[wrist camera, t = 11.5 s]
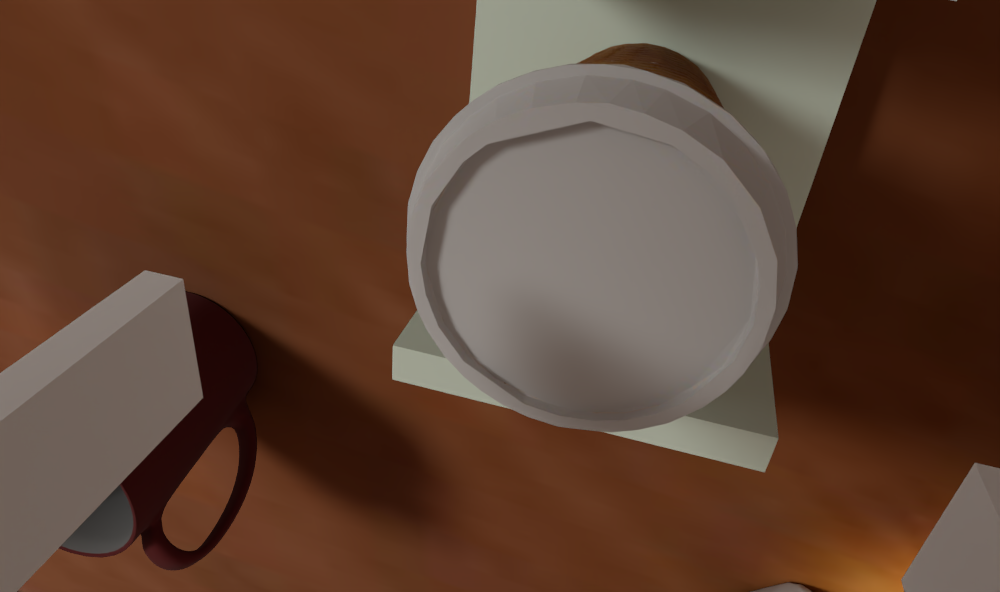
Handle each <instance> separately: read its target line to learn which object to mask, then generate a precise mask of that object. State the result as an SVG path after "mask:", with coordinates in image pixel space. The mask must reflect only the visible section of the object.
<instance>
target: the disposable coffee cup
mask: <svg viewBox="0 0 1000 592" xmlns="http://www.w3.org/2000/svg"><path fill="white" fill-rule="evenodd" d="M406 251H407V263H408V274H409V284H410V287H411V291H412V294H413V297H414V300H415V304H416V307H417V310H418V313H419V315H420V317H421V319H422V321H423V323H424V325H425V328H426V330H427V331H428V333H429V334H430V336H431V337H432V339H433V340H434V342H435V343H436V345H437V346H438V348H439V349H440V351H441V352H442V354H443V355H444V356H445V357H446V358H447V359H448V360H449V362H450V363H451V364H452V365H453V366H454V367H455V368H456V369H457V370H458V371H459V372H460V373H461V374H462V375H463V376H464V377H465V378H466V379H467V380H468V381H470V382H471V383H472V384H473V385H475V386H476V387H477V388H478V389H479V390H481V391H482V392H484V393H485V394H487V395H488V396H490V397H491V398H493V399H494V400H496V401H498V402H499V403H501V404H502V405H504V406H506V407H508V408H510V409H512V410H514V411H517V412H519V413H521V414H523V415H525V416H527V417H530V418H533V419H536V420H539V421H542V422H546V423H549V424H552V425H555V426H558V427H566V428H574V429H582V430H592V431H602V432H620V431H632V430H640V429H645V428H649V427H654V426H658V425H663V424H667V423H670V422H672V421H674V420H677V419H679V418H681V417H683V416H685V415H688V414H690V413H692V412H694V411H696V410H699V409H701V408H703V407H705V406H706V405H707V404H709V403H710V402H712V401H713V400H714V399H716V398H717V397H719V396H720V395H722V394H723V393H724V392H726V391H727V390H728V389H729V388H730V387H731V386H732V385H733V384H734V383H735V382H736V381H737V380H738V379H739V378H740V377H741V376H742V375H743V374H744V373H745V371H746V370H747V368H748V367H749V366H750V364H751V363H752V362H753V361H754V359H755V358H756V357H757V356H758V355H759V353H760V352H761V351H762V350H763V349H764V347H765V346H766V345H767V344H768V343H769V341H770V340H771V338H772V337H773V335H774V333H775V331H776V329H777V327H778V326H779V324H780V322H781V320H782V318H783V317H784V315H785V313H786V311H787V309H788V305H789V301H790V297H791V292H792V288H793V284H794V280H795V276H796V272H797V268H798V257H797V229H796V224H795V220H794V216H793V212H792V208H791V204H790V200H789V197H788V193H787V190H786V188H785V186H784V184H783V182H782V180H781V178H780V176H779V174H778V172H777V170H776V168H775V166H774V164H773V163H772V161H771V160H770V158H769V157H768V155H767V154H766V152H765V151H764V149H763V148H762V147H761V145H760V144H759V143H758V141H757V140H756V139H755V138H754V137H753V136H752V135H751V134H750V133H749V132H748V131H747V130H746V129H745V127H744V126H743V125H742V124H741V123H740V122H739V121H738V120H737V119H736V118H735V117H734V116H733V115H732V114H731V113H730V112H729V111H727V110H726V109H724V107H723V106H722V104H721V102H720V100H719V98H718V97H717V94H716V92H715V90H714V89H713V87H712V85H711V83H710V82H709V80H708V78H707V77H706V76H705V75H704V73H703V72H702V71H701V70H700V68H699V67H698V66H697V65H695V64H694V63H693V62H691V61H690V60H689V59H687V58H686V57H684V56H682V55H681V54H679V53H677V52H675V51H673V50H671V49H668V48H666V47H662V46H658V45H653V44H648V43H635V44H622V45H617V46H612V47H609V48H607V49H604V50H602V51H600V52H597V53H595V54H593V55H592V56H590V57H588V58H586V59H584V60H582V61H580V62H578V63H576V64H566V65H561V66H556V67H551V68H546V69H541V70H535V71H532V72H529V73H527V74H524V75H521V76H519V77H516V78H513V79H511V80H508V81H505V82H503V83H500V84H498V85H497V86H495V87H493V88H492V89H490V90H489V91H487V92H485V93H484V94H482V95H481V96H479V97H477V98H476V99H474V100H473V101H472V102H471V103H470V104H468V105H467V106H466V107H465V108H464V109H463V110H461V111H460V112H459V113H458V114H457V115H455V116H454V117H453V119H452V120H451V121H450V122H449V123H448V124H447V126H446V127H445V128H444V129H443V130H442V131H441V133H440V134H439V135H438V136H437V137H436V138H435V139H434V141H433V142H432V144H431V146H430V148H429V150H428V152H427V154H426V156H425V158H424V160H423V161H422V163H421V165H420V167H419V169H418V171H417V174H416V178H415V181H414V185H413V188H412V192H411V195H410V199H409V203H408V218H407V250H406Z"/></svg>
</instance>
